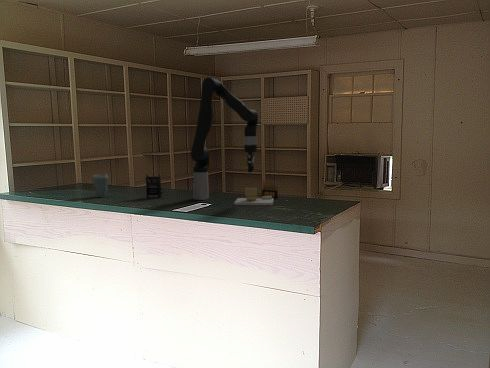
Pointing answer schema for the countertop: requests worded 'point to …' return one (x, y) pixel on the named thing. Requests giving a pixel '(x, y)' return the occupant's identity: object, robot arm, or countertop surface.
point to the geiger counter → (153, 187)
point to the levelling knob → (251, 194)
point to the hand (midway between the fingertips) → (250, 171)
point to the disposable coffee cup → (100, 184)
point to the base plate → (255, 201)
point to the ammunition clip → (270, 189)
